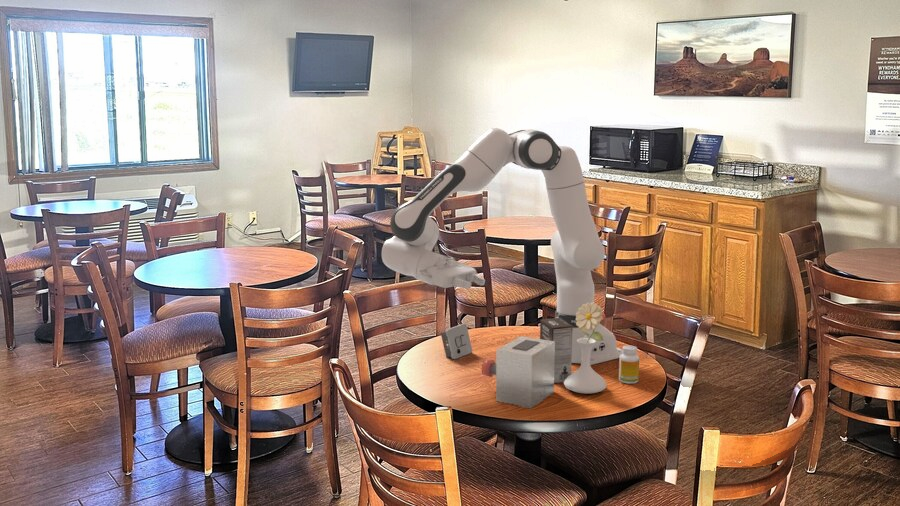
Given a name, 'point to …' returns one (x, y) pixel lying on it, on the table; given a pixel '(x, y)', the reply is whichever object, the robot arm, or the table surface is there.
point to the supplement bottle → (629, 365)
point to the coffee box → (559, 345)
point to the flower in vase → (587, 352)
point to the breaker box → (525, 371)
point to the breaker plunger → (489, 368)
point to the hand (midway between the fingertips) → (477, 284)
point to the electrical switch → (456, 341)
